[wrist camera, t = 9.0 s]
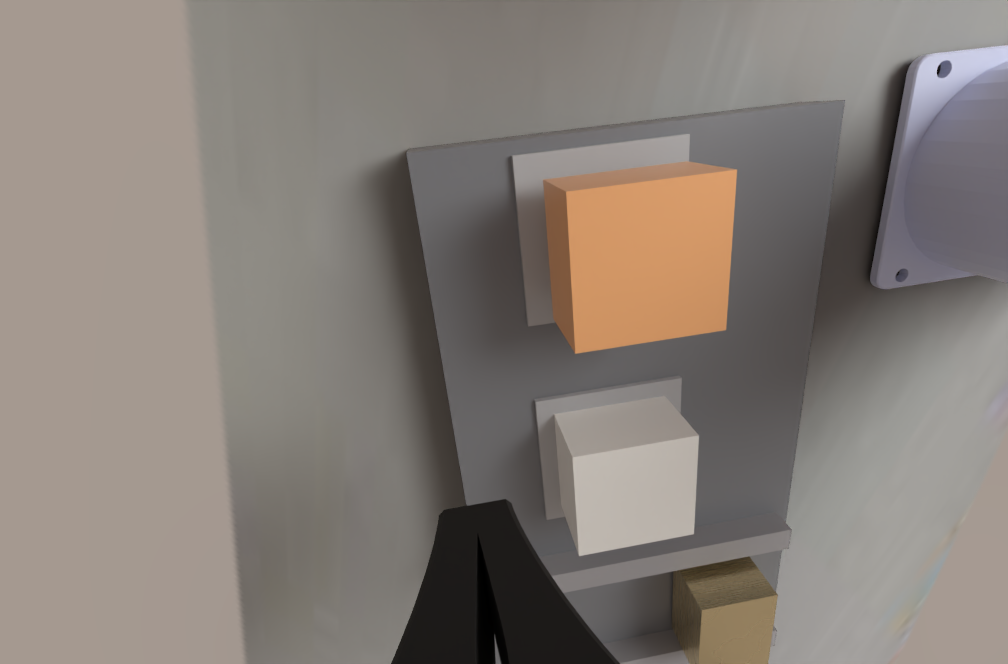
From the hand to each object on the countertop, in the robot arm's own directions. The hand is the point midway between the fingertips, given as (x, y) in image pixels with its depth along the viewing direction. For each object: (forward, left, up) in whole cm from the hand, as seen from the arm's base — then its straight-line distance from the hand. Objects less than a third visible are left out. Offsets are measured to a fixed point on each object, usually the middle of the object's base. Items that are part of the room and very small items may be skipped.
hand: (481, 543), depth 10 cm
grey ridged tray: (-6, +5, -9) cm, 12 cm away
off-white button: (-5, +4, -7) cm, 10 cm away
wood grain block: (-9, +12, -7) cm, 17 cm away
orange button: (-5, -4, -6) cm, 9 cm away
